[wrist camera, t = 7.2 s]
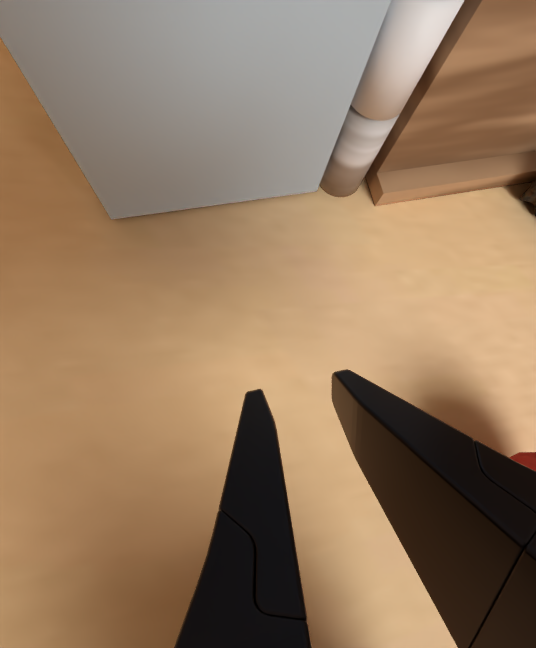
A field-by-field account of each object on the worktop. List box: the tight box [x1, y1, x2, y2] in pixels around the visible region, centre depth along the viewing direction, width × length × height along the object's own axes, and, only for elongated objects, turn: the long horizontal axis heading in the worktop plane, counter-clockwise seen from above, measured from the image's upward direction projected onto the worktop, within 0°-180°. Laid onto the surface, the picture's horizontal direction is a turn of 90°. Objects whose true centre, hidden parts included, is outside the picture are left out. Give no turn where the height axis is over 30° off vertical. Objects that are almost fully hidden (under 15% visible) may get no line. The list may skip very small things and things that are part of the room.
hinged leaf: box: [0, 0, 464, 219], centre depth 14 cm, size 3×16×18 cm, turn 102°
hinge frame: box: [319, 0, 536, 206], centre depth 16 cm, size 5×16×18 cm, turn 103°
